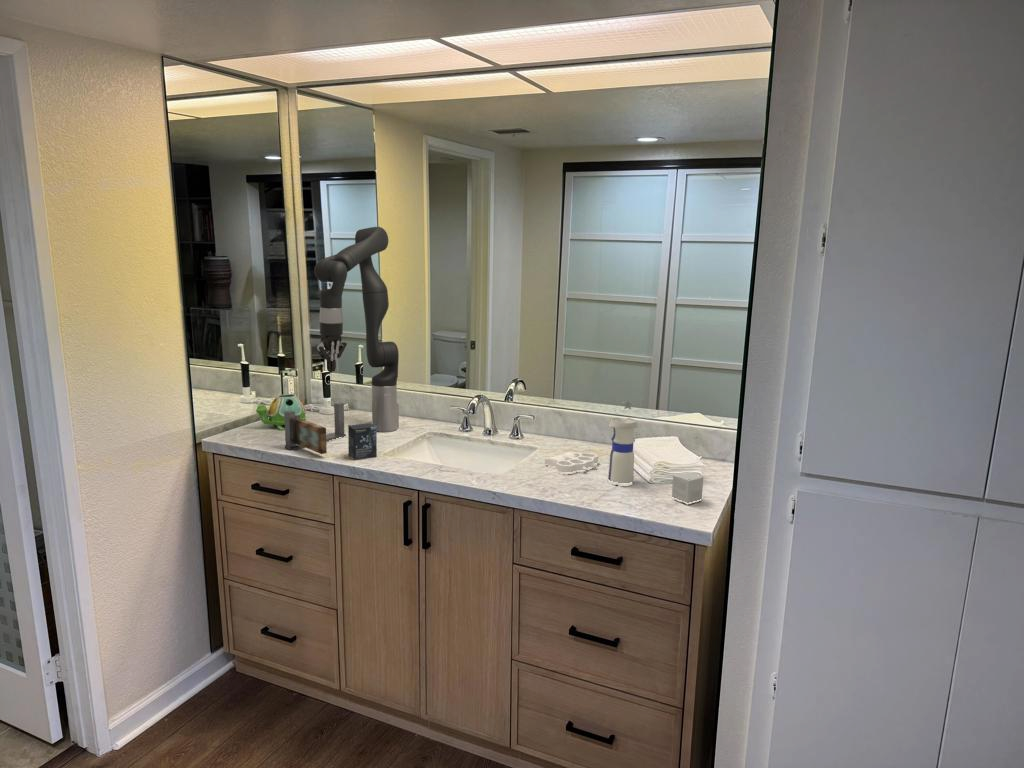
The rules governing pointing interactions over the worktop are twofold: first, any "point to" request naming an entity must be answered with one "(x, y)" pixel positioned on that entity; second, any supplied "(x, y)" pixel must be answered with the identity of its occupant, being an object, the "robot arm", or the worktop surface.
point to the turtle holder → (281, 410)
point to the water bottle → (622, 449)
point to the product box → (687, 487)
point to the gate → (310, 435)
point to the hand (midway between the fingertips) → (331, 371)
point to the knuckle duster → (573, 461)
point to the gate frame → (339, 432)
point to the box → (362, 441)
